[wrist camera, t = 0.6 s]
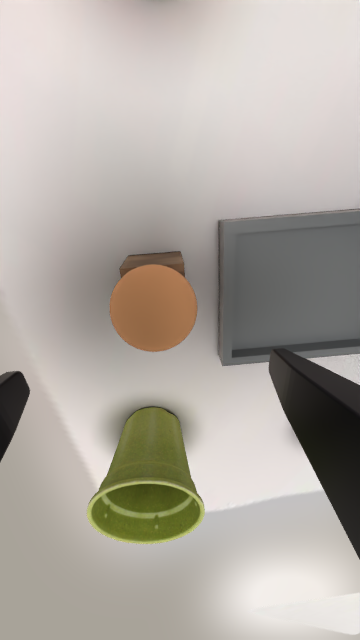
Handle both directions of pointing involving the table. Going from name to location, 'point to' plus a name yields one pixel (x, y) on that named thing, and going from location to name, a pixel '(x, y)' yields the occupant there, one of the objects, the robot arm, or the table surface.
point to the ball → (153, 308)
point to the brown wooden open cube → (154, 261)
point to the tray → (289, 286)
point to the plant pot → (147, 484)
